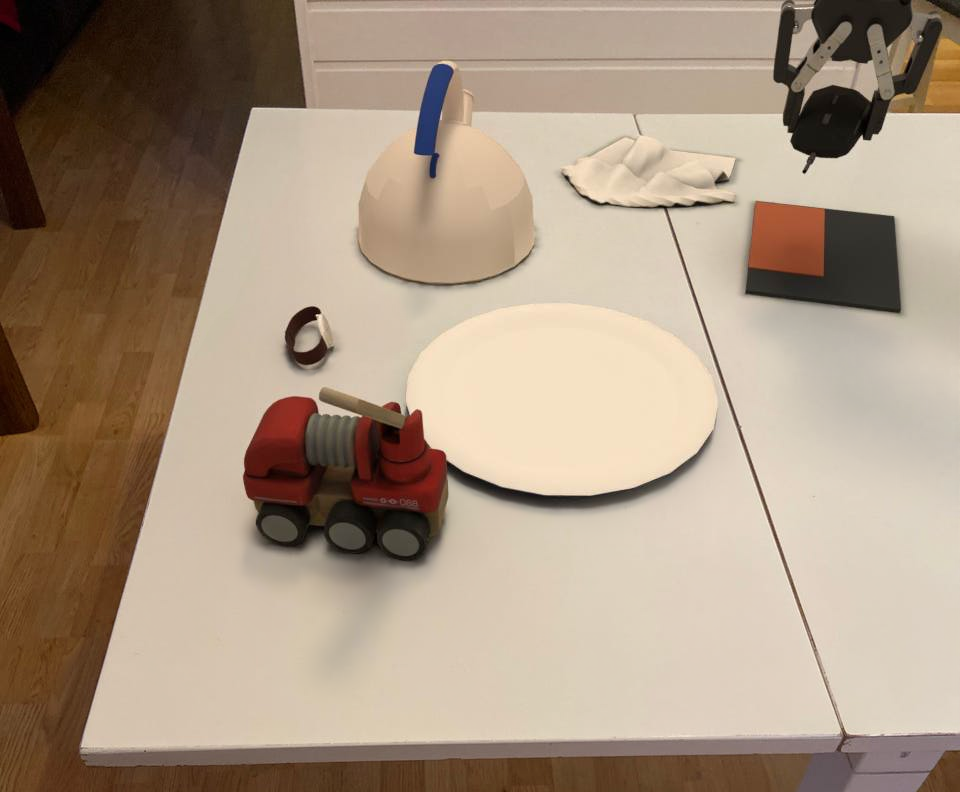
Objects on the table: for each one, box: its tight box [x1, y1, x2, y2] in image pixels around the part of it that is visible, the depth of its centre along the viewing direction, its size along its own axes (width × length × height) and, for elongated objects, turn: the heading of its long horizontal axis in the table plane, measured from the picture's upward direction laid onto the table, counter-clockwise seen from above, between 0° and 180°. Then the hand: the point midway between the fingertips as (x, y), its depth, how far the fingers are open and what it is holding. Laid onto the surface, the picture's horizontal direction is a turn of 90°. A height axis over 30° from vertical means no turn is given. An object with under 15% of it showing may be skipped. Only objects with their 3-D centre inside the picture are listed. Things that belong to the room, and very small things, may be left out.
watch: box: [284, 305, 335, 366], centre depth 95 cm, size 8×5×4 cm, turn 7°
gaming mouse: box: [789, 84, 871, 175], centre depth 91 cm, size 6×15×4 cm, turn 153°
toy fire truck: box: [242, 386, 449, 561], centre depth 73 cm, size 11×16×18 cm
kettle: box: [357, 60, 536, 285], centre depth 103 cm, size 20×21×18 cm
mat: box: [744, 200, 902, 314], centre depth 108 cm, size 16×20×1 cm
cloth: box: [560, 134, 736, 208], centre depth 118 cm, size 20×22×2 cm
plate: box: [405, 302, 720, 498], centre depth 90 cm, size 29×29×2 cm
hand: (828, 133), depth 92 cm, fingers closed on gaming mouse, 6 cm apart
